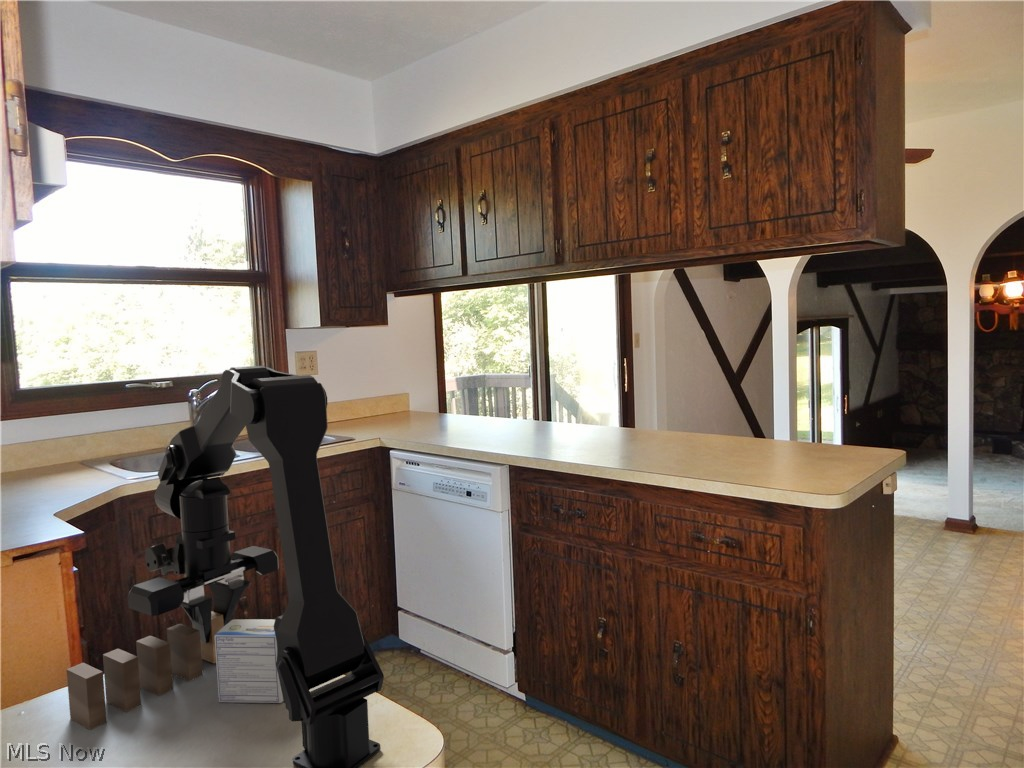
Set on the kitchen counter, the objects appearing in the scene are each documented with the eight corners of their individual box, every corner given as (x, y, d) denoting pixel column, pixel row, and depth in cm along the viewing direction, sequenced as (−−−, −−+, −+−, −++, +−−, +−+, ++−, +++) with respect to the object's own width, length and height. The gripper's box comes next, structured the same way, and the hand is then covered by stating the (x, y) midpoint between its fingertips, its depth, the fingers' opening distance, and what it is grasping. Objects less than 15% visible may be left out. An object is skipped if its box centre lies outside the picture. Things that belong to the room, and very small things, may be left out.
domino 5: (206, 650, 93) (203, 608, 92) (226, 657, 91) (223, 614, 90) (194, 656, 91) (191, 613, 91) (214, 663, 89) (211, 619, 89)
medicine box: (296, 685, 84) (293, 618, 83) (281, 705, 79) (277, 634, 79) (236, 684, 84) (231, 617, 84) (217, 704, 80) (213, 634, 79)
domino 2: (121, 695, 82) (118, 648, 82) (141, 705, 80) (137, 656, 80) (106, 702, 81) (102, 654, 80) (126, 712, 79) (122, 663, 78)
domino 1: (87, 711, 79) (83, 662, 79) (106, 721, 77) (102, 671, 76) (70, 719, 77) (66, 669, 77) (90, 730, 75) (86, 678, 75)
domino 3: (153, 680, 86) (150, 635, 85) (173, 689, 83) (170, 643, 83) (139, 687, 84) (136, 641, 84) (159, 696, 82) (155, 649, 81)
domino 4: (182, 666, 89) (179, 623, 89) (202, 675, 87) (199, 630, 86) (169, 672, 88) (166, 628, 87) (189, 681, 85) (186, 636, 85)
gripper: (229, 503, 101) (235, 603, 102) (100, 537, 86) (109, 654, 87) (278, 512, 95) (284, 618, 97) (149, 549, 80) (158, 675, 81)
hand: (212, 639), depth 90 cm, fingers closed on domino 5, 2 cm apart
